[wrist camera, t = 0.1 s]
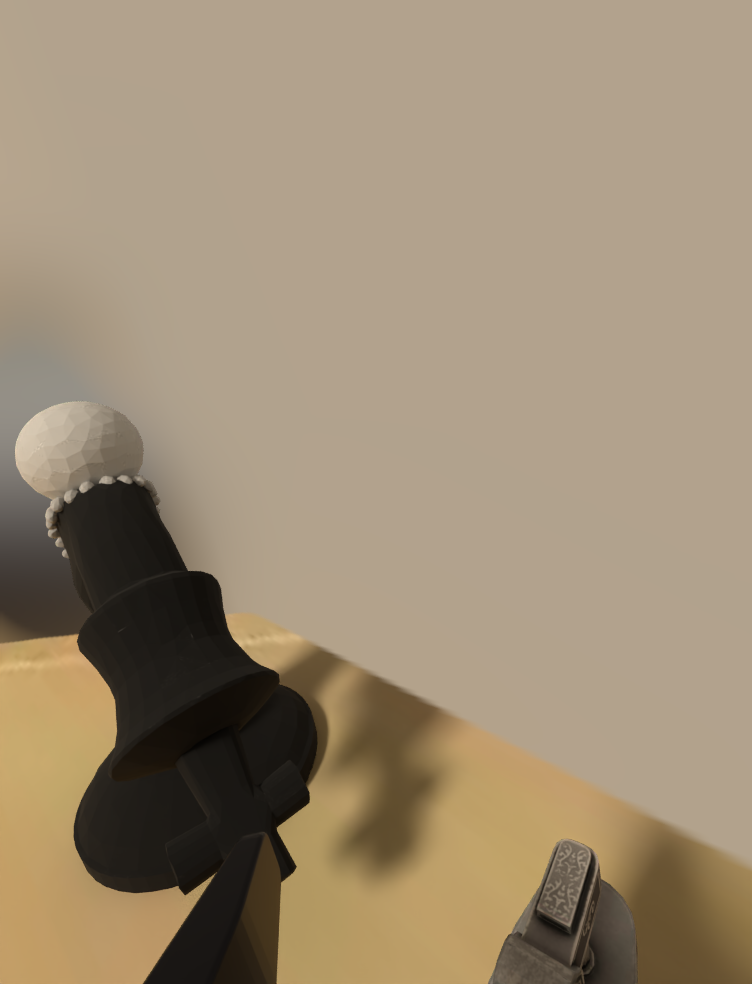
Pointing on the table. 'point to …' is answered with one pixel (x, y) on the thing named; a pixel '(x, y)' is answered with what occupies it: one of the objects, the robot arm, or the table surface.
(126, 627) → the sculpture
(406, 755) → the table surface
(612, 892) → the lighter
